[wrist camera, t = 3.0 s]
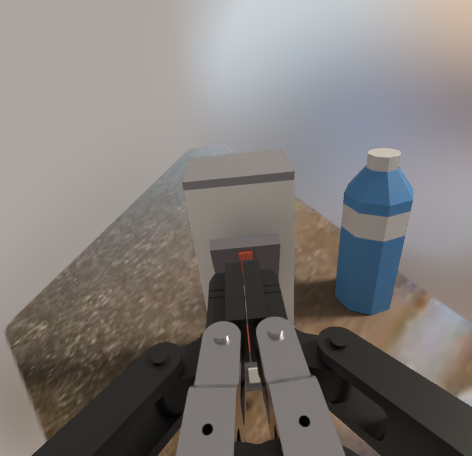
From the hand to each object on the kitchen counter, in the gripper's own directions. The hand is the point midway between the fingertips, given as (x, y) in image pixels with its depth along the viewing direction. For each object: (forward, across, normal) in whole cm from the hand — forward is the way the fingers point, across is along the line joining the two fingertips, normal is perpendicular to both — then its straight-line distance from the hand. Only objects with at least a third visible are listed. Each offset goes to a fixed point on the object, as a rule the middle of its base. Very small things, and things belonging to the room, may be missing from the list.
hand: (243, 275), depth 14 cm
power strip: (+19, 0, -30) cm, 35 cm away
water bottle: (+29, +20, -30) cm, 46 cm away
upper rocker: (+14, 0, -14) cm, 20 cm away
